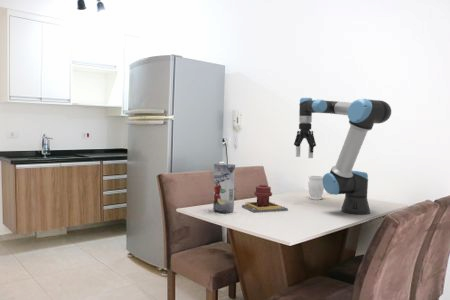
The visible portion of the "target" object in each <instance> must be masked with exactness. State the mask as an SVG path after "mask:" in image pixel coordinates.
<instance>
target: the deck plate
mask: <svg viewBox="0 0 450 300" xmlns="http://www.w3.org/2000/svg"><path fill="white" fill-rule="evenodd" d="M241 208H243V209H245V210H247V211H250V212H251V213H272V212H288V211H289V209H288V207H286V206H282V205H280V204H277V203H276V202H272V201H269V205H268V206H266V207H260V206H258V204H257V201H247V202H245V203H244V204H241Z"/></svg>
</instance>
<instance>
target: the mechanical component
mask: <svg viewBox="0 0 450 300" xmlns="http://www.w3.org/2000/svg"><path fill="white" fill-rule="evenodd" d="M271 190H272V188H271V186H268V185H267V184H260V185H258V186H256V185H255V191H254V194H253V195H254V196H256V202H257V204H258V206H260V207H266V206H268V205H269V202H270V197H272V195H273V192H272V191H271Z"/></svg>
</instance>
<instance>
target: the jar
mask: <svg viewBox="0 0 450 300" xmlns="http://www.w3.org/2000/svg"><path fill="white" fill-rule="evenodd" d="M307 188H308V194H309V199H310V200H314V201H315V200H316V201H317V200H320V199H321V200H322V199H323V197H322V196H323V194H324V191H325V189H324V186H323V176H321V175H309V176H308V183H307Z"/></svg>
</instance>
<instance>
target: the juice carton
mask: <svg viewBox="0 0 450 300" xmlns="http://www.w3.org/2000/svg"><path fill="white" fill-rule="evenodd" d="M213 169H214V170H213V171H214V172H213V205H212V206H213V209H212V210H213V211H214V212H216V213H221V214H229V213H234V210H235V209H234V208H235V180H236V179H235V174H236V173H235V172H236V164H231V163H230V164H228V163H226V162H225V161H219V163H214V164H213Z"/></svg>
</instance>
